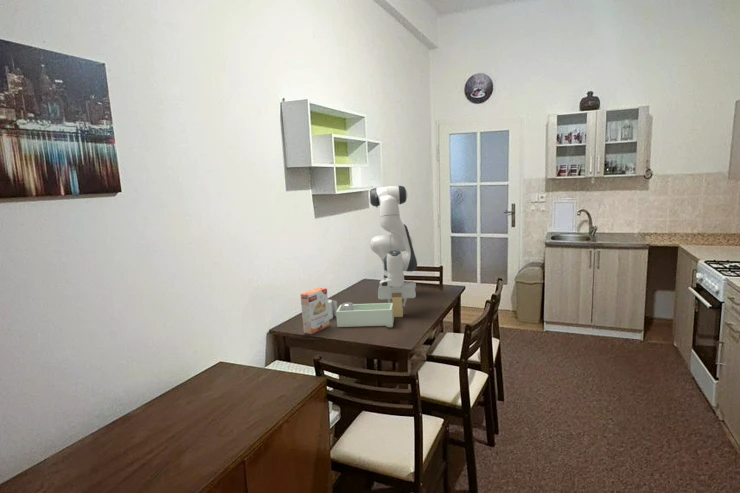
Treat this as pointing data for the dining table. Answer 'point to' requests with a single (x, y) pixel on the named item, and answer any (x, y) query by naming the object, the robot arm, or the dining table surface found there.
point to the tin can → (347, 306)
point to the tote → (366, 315)
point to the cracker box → (315, 310)
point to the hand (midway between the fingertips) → (397, 306)
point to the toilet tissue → (332, 308)
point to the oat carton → (397, 304)
